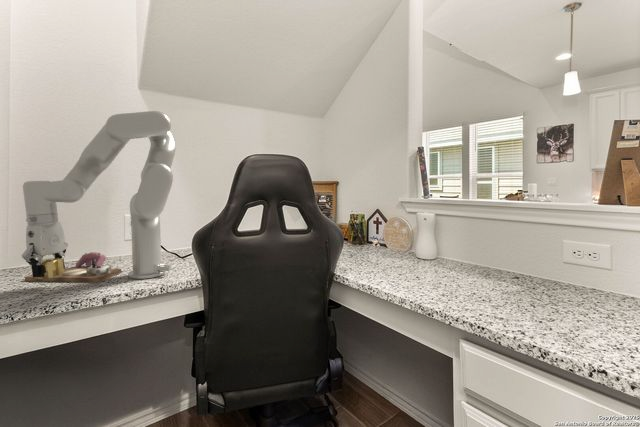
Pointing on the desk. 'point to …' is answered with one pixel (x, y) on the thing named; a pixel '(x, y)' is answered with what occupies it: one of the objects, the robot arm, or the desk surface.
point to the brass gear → (52, 267)
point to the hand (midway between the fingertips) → (49, 272)
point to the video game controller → (88, 259)
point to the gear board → (82, 274)
